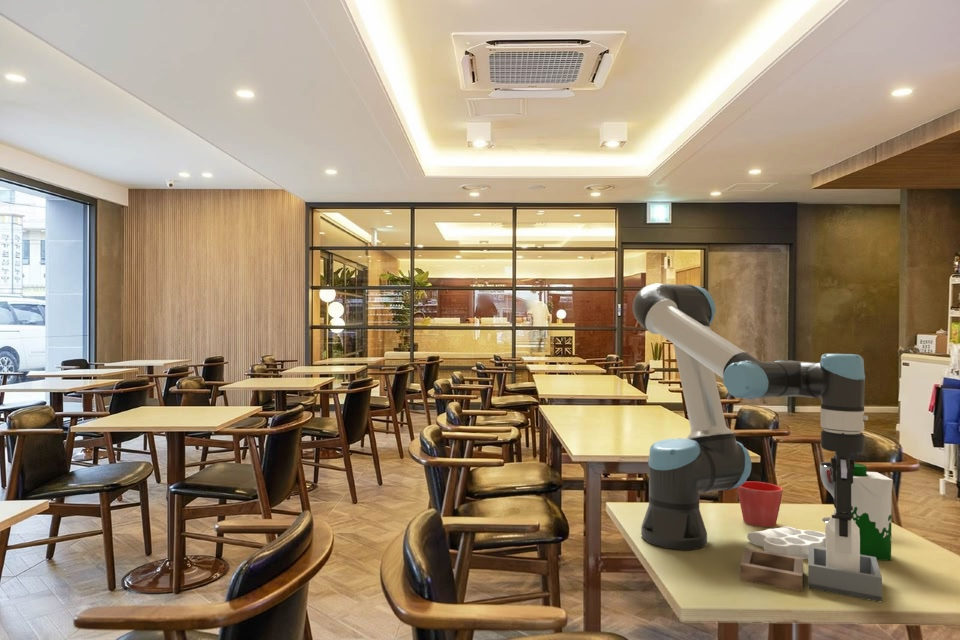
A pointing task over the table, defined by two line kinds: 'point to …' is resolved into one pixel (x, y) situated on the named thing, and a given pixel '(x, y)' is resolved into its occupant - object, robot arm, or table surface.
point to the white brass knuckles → (788, 540)
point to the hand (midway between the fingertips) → (842, 546)
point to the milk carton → (872, 511)
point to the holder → (772, 569)
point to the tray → (844, 577)
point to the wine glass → (827, 480)
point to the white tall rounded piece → (839, 558)
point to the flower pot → (760, 503)
